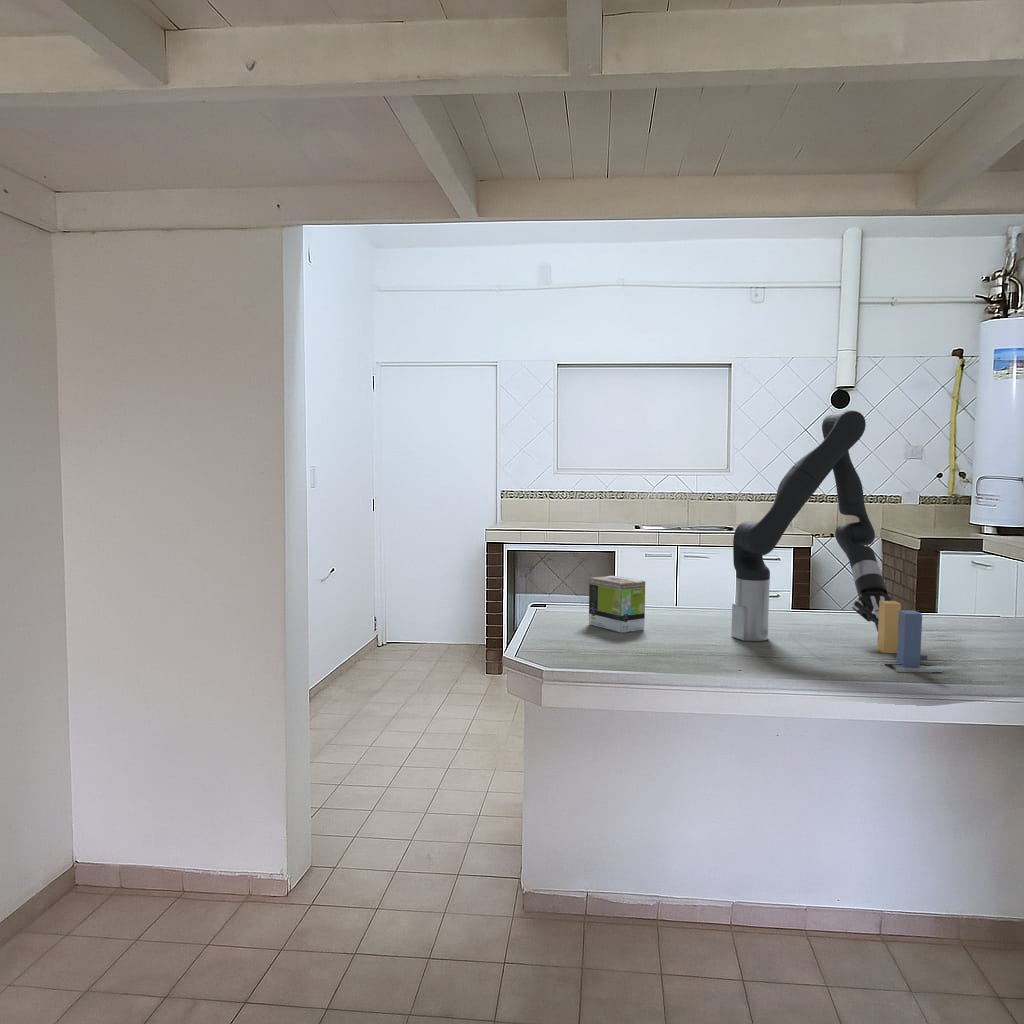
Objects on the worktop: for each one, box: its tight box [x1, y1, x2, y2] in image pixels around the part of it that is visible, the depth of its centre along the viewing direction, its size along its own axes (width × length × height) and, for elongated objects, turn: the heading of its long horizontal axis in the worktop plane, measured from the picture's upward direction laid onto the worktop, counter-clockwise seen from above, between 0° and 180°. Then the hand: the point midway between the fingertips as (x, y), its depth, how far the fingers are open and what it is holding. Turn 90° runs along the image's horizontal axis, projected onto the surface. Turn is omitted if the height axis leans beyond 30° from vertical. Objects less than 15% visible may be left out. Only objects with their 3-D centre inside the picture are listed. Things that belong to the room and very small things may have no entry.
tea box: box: [588, 575, 646, 633], centre depth 252 cm, size 15×10×15 cm
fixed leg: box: [896, 609, 928, 666], centre depth 207 cm, size 4×6×13 cm, turn 88°
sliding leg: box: [876, 600, 902, 654], centre depth 219 cm, size 4×6×13 cm, turn 88°
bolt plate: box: [884, 663, 943, 673], centre depth 217 cm, size 26×11×1 cm, turn 178°
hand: (884, 633), depth 222 cm, fingers closed
